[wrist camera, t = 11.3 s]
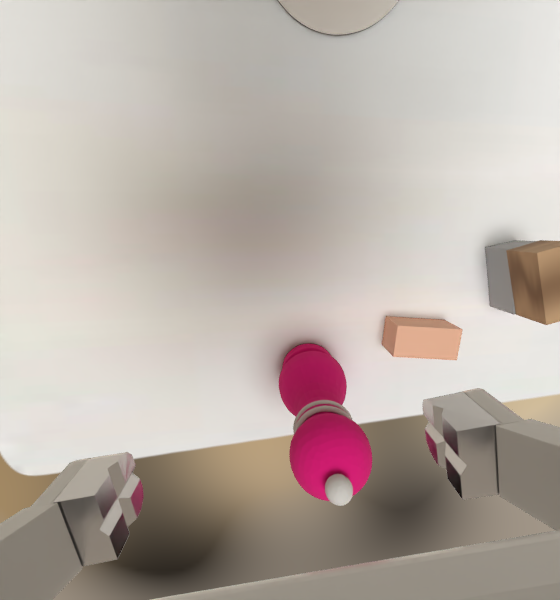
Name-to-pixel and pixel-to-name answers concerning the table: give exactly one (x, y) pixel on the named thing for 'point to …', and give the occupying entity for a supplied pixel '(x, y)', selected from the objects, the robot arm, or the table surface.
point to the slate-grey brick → (501, 275)
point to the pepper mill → (323, 426)
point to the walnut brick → (536, 280)
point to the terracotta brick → (421, 338)
